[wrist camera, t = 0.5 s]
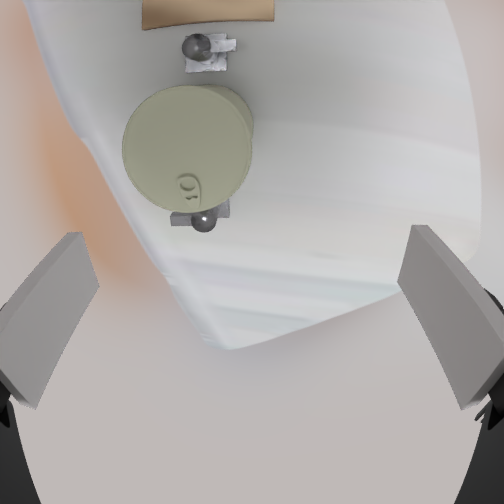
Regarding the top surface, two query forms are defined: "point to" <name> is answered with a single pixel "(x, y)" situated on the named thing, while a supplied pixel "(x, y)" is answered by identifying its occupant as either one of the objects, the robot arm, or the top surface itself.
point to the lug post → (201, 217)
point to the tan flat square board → (203, 11)
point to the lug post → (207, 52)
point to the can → (189, 147)
